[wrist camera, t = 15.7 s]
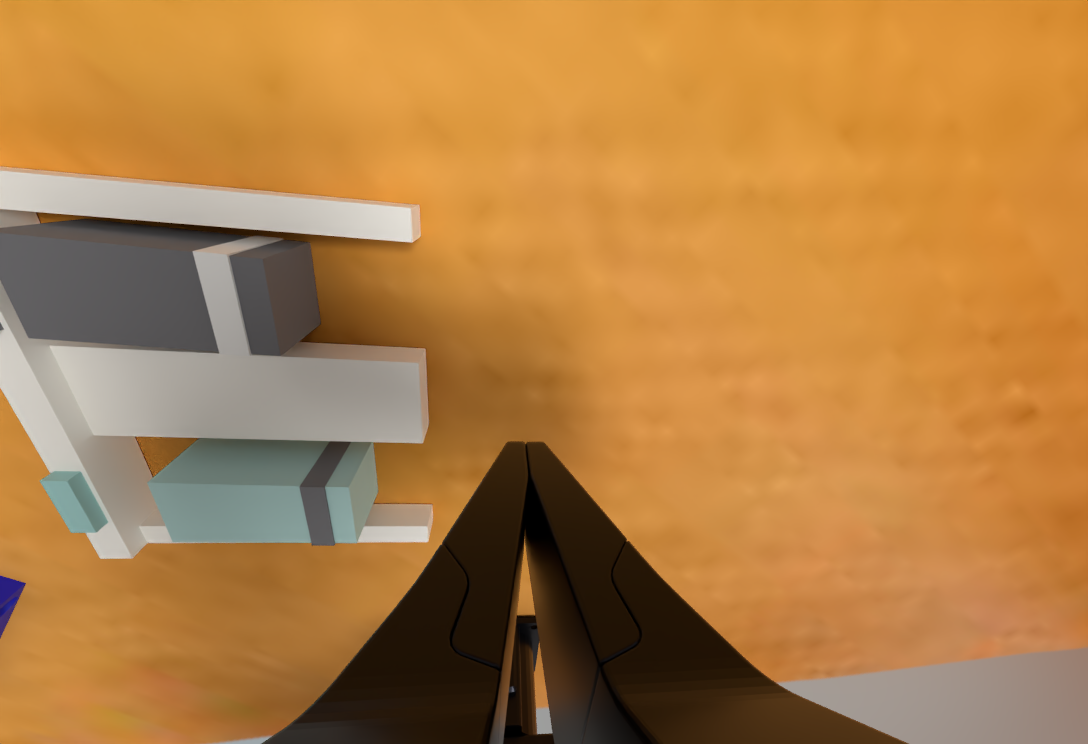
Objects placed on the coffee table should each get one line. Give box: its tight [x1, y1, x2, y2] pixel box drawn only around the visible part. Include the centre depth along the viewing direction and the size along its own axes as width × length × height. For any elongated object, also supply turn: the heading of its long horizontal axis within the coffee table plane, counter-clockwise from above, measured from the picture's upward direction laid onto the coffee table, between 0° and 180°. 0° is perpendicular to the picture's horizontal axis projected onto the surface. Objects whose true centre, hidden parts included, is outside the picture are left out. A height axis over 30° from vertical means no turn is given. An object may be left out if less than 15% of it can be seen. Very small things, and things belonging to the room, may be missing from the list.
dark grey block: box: [0, 219, 321, 356], centre depth 15 cm, size 4×8×4 cm, turn 83°
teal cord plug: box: [147, 438, 378, 546], centre depth 19 cm, size 4×8×4 cm, turn 84°
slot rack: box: [0, 166, 433, 559], centre depth 17 cm, size 17×15×3 cm
